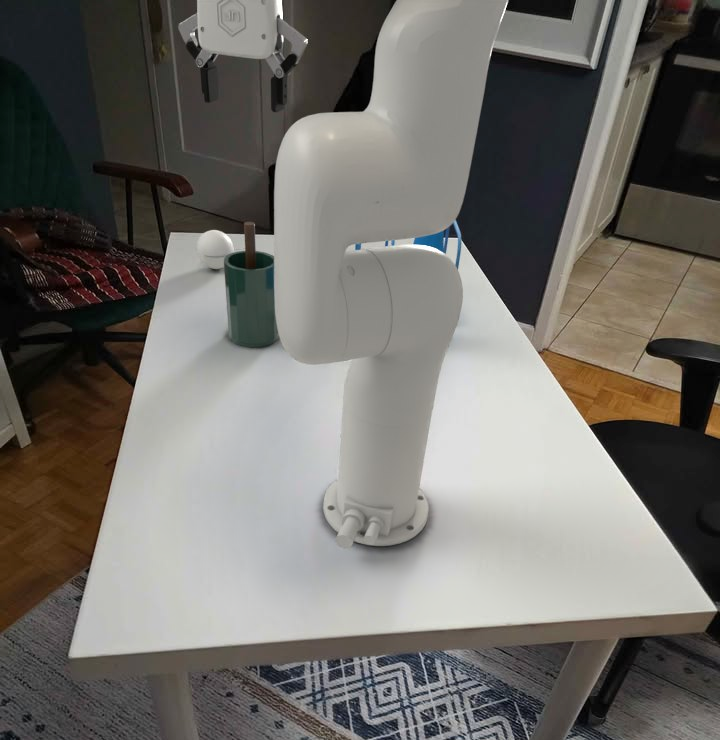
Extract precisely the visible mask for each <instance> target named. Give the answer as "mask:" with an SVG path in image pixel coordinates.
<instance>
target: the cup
mask: <svg viewBox="0 0 720 740" xmlns="http://www.w3.org/2000/svg"><path fill="white" fill-rule="evenodd" d="M223 269H224V285H225V301H226V312H227V313H226V314H227V330H228V337H229V340H230V341H231V342H232V343H233V344H235V345H238V346H240V347H241V346H242V347H245V348H262V347H266V346H269V345H272V344H273V343H275V342H276V341H277V340H278V338H279V333H278V329H277V323H276V316H275V295H274V254H271V253H268V252H264V251H259V250H256V269H246V257H245V250H238V251H234V253H231V254H229V255H227V256H226V257H225V258H224V268H223Z"/></svg>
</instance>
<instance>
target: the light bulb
mask: <svg viewBox="0 0 720 740" xmlns="http://www.w3.org/2000/svg"><path fill="white" fill-rule="evenodd" d="M195 249H196V254H197V257H198V259H199V261H200V263H202V264H203V265H204V266H206V267H207V268H209V269H213V270H220V269H224V258H225V257H226V256H227V255H229V254H231V253H234V252H235V250H237V251H239V248H234V244H233V241H232V239H231V238H230V236H229V235H228V234H226V233H225V232H223V231H221V230H217V229H210V230H207V231H204V232H203V233H202V234H201V235H200V236H199V238H198V239H197V242H196V248H195Z"/></svg>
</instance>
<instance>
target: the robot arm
mask: <svg viewBox="0 0 720 740" xmlns="http://www.w3.org/2000/svg"><path fill="white" fill-rule="evenodd" d="M508 3H509V0H396V1H394V4H393V6H392V8H391V9H390V11H389V13H388V15H387V16H386V18H385V19H384V22H383V24H382V26H381V28H380V31H379V34H378V36H377V39H376V40H377V41H376V45H375V51H374V52H375V54H374V67H373V79H372V80H373V81H372V89H371V96H370V100H369V103H368V105H367V107H366V108H365V109H364V110H363V111H338V112H318V113H315V114H310V115H306V116H304V117H301V118H300V119H298V120H297V121H295V122H294V123H293V124H292V125H291V126H290V127H289V128H288V129H287V131H286V132H285V133H284V136H283V137H282V140H281V143H280V145H279V149H278V153H277V156H276V162H275V168H274V169H275V170H274V187H273V188H274V189H273V210H274V211H273V244H274V245H273V248H274V249H273V256H274V295H275V316H276V323H277V329H278V338H279V340H280V342H281V344H282V346H283V348H284V351H286V352H287V354H288V356H290V357H291V358H292V359H293V360H295V361H297V362H298V363H301V364H305V365H313V366H314V365H327V364H333V363H341V362H346V361H351V362H350V364H349V366H348V369H347V372H346V376H345V379H344V384H343V395H342V408H341V409H342V410H341V424H340V425H341V427H340V439H339V440H340V441H339V442H340V443H339V455H338V456H339V457H338V459H339V460H338V473H337V474H338V475H337V479H336V480H334V481H333V482H332V483H331V484H330V485H329V487H327V489H326V491H325V493H324V496H323V508H322V509H323V514H324V517H325V519H326V521H327V523H328V524H329V525H330V527H331V528H332V529H333V530H334V531H335V532H336V533H337V535H336V537H335V543H336V545H338V546H339V547H340V548H342V549H350V548H352V546H353V545H354V542H355V543H358V544H362V545H366V546H372V547H373V546H374V547H385V546H386V547H387V546H394V545H399V544H402V543H405V542H407V541H410V540H411V539H413V538H415V537H416V536H417V535H418V534H420V532H422V531H423V529H424V528H425V526H426V524H427V521H428V519H429V518H428V517H429V510H430V507H429V502H428V500H427V497H426V495H425V494H424V492H423V491H422V489H421V488H420V487H421V480H422V473H423V468H424V463H425V457H426V450H427V445H428V444H427V443H428V440H429V439H428V438H429V437H428V436H429V433H430V428H431V427H430V426H431V420H432V415H433V414H432V413H433V410H434V406H435V399H436V395H437V394H436V393H437V388H438V383H439V379H440V376H441V375H440V374H441V371H442V368H443V367H442V366H443V363H444V359H445V356H446V354H447V351H448V348H449V346H450V344H451V341H452V338H453V336H454V334H455V331H456V328H457V325H458V323H459V319H460V316H461V312H462V307H463V301H464V300H463V298H464V289H463V281H462V277H461V274H460V272H459V268H458V269H457V267H456V265H455V264H456V263H455V262H454V261H453V260H452V258H451V257H450V256H448V255H447V253H446V254H444V253H443V252H441V251H439V250H438V249H435V248H432V247H429V246H424V245H414V244H413V243H412V244H409V243H408V244H394V246H391V245H388V246H385V245H384V246H375V247H364V248H361V249H360V250H355V249H354V250H353V249H352V250H347V249H348V248H349V247H350V246H352V245H355V244H361V245H362V244H368V243H369V244H370V243H380V242H385V241H388V242H391V241H392V240H395V241H401V240H402V241H403V240H409V239H415V238H417V237H424V236H428V235H433V234H436V233H439V232H441V231H444V232H445V231H446V228H448V227H449V226H450V227H451V226H452V225H453V222H454V221H455V220H456V219H457V218H458V216H459V214H460V211H461V209H462V207H463V206H462V205H463V203H464V199H465V195H466V191H467V186H468V181H469V177H470V171H471V166H472V161H473V156H474V150H475V144H476V139H477V134H478V128H479V123H480V116H481V111H482V106H483V102H484V101H483V100H484V95H485V89H486V83H487V77H488V70H489V65H490V61H491V56H492V51H493V48H494V44H495V40H496V38H497V35H498V32H499V29H500V25H501V22H502V19H503V17H504V14H505V11H506V8H507V5H508ZM196 7H197V8H196V9H197V12H196V13H195V14H193V15H191V16H190V17H188V18H186V19H185V20H183V21H182V22H180V23H178V25H177V28H178V31H179V33H180V36H181V38H182V40H183V42H184V43H185V48H186V50H187V52H188V53H189V54H190V56H191V57H192V58H193V59H194V61H195V65H196V66H197V67H198V68H199V71H200V72H199V73H200V85H201V93H202V94H203V99H204V100H203V101H204V103H208V104H210V103H213V102H216V101H218V100H219V99H220V86H219V69H218V67H217V65H215V64H214V63H215V61H216V59H217V58H218V56H219V55H222V56H229V57H238V58H245V59H246V58H247V59H253V60H263V59H264V60H265V61H266V63H267V64H268V66H269V68H270V69H271V71H272V72H273V76H271V78H270V110H271V111H272V113H280V112H282V111H284V110H285V106H286V105H287V103H288V76H290V74H291V72H292V71H293V70H294V69H295V68H296V67H297V65H298V64H299V63H300V62H301V59H302V56H303V54H304V52H305V49H306V48H307V45H308V39H307V37H306V36H304V34H302V33H301V32H299V31H298V30H297V29H295V27H293V26H292V25H291V24H289V23H288V22H286V21H285V20H284V19H283V5H282V0H196ZM196 30H197V37H196V34H195V32H196ZM197 38H198V39H197ZM284 39H286V40H287V41H288V42H290V44H291V49H290V51H289V54H288V55H287V56H286V57H284V55H283V54H282V52H283V49H284V48H283V47H284ZM456 221H457V220H456Z"/></svg>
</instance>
